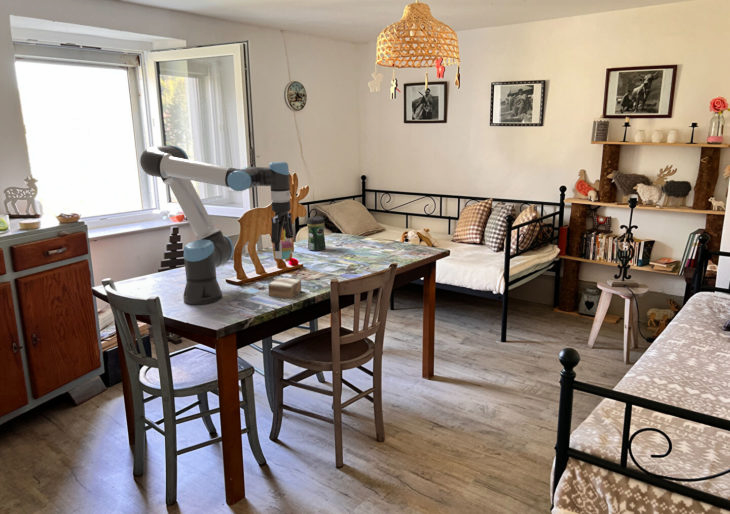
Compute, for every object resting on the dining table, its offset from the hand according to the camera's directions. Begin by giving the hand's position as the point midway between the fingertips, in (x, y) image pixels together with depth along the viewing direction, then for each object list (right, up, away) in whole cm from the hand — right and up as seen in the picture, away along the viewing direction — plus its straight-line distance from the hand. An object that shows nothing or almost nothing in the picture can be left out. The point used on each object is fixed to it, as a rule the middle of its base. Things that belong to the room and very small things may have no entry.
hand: (283, 255), depth 224 cm
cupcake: (0, -1, 0) cm, 1 cm away
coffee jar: (+6, +4, +81) cm, 82 cm away
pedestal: (0, -16, +4) cm, 16 cm away
